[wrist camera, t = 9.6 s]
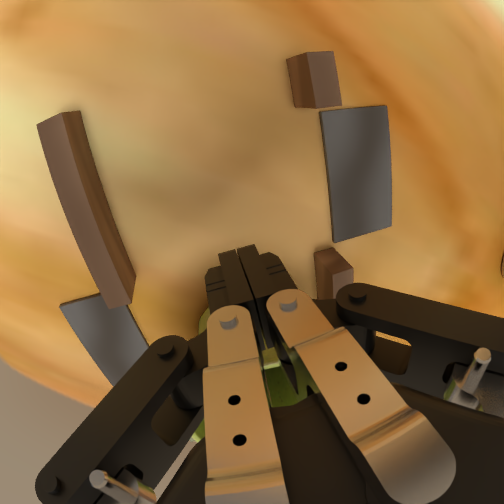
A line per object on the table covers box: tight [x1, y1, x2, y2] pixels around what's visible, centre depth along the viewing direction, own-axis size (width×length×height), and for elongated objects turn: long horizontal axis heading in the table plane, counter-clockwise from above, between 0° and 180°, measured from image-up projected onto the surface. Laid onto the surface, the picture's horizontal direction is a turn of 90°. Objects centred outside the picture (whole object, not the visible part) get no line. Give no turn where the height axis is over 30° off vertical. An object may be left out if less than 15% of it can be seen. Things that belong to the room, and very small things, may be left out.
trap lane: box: [37, 51, 392, 442], centre depth 19 cm, size 25×26×4 cm
